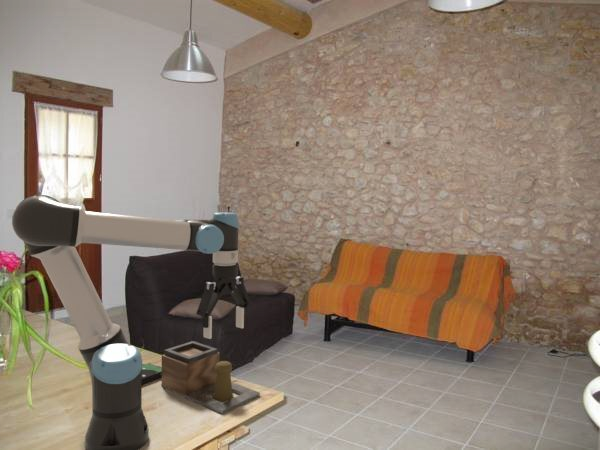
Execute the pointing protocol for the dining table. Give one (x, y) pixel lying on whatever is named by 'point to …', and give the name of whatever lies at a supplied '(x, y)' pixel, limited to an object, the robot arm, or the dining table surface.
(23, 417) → the dining table surface
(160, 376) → the disk drive
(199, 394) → the low frame
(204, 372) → the raised stand
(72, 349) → the dining table surface
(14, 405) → the dining table surface
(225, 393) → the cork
